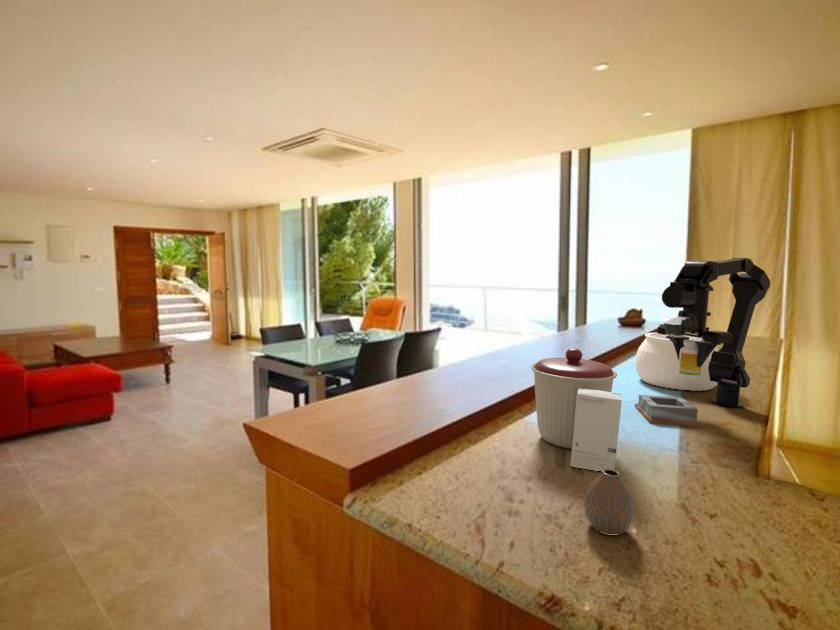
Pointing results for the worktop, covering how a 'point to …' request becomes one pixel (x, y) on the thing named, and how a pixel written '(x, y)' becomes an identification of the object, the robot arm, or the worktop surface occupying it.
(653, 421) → the socket board
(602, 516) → the vase
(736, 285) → the robot arm
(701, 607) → the worktop surface
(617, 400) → the skincare box
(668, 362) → the pot
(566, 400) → the canister
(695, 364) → the supplement bottle
